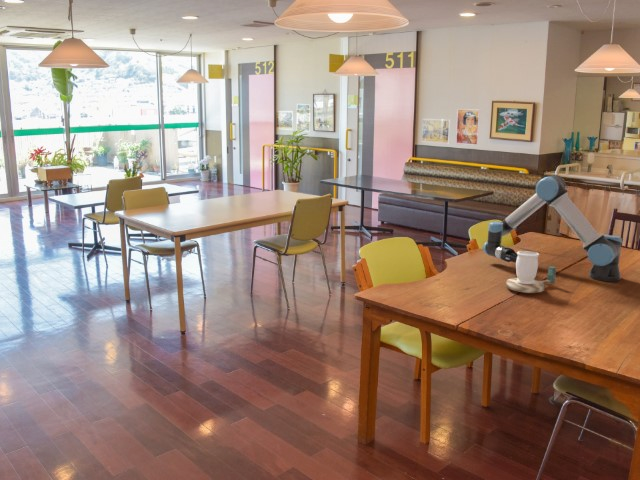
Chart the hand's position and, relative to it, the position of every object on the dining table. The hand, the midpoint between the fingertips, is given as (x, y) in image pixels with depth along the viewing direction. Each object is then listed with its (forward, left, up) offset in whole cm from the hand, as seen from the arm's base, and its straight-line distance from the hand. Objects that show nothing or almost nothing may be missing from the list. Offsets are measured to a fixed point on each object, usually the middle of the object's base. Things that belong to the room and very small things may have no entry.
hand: (536, 264), depth 315 cm
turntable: (-5, +15, -7) cm, 17 cm away
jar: (-3, +19, -5) cm, 20 cm away
